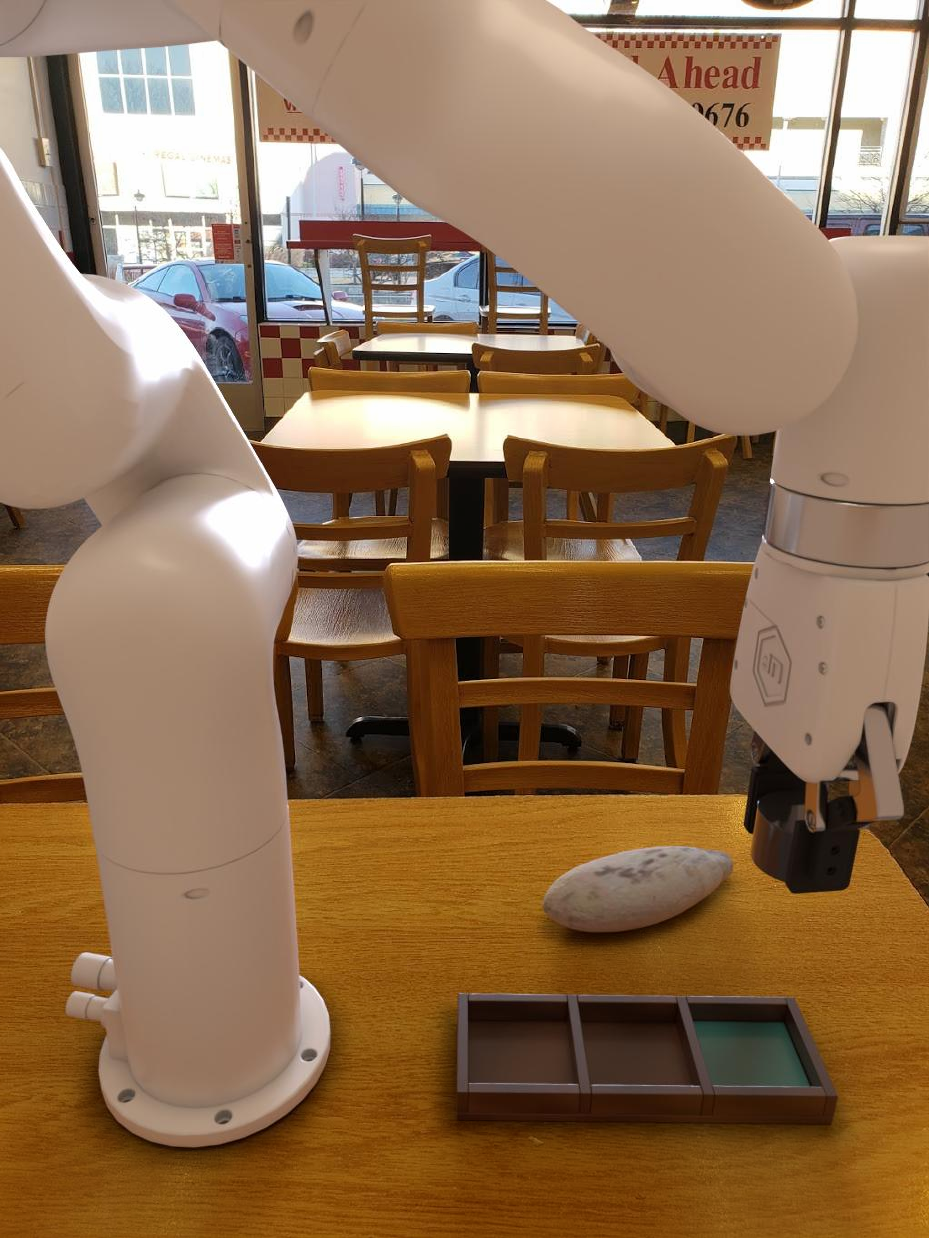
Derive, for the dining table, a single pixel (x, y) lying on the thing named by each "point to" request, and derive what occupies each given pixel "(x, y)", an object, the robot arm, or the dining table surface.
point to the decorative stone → (635, 888)
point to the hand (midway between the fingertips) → (793, 855)
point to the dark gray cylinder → (776, 830)
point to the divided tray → (639, 1060)
